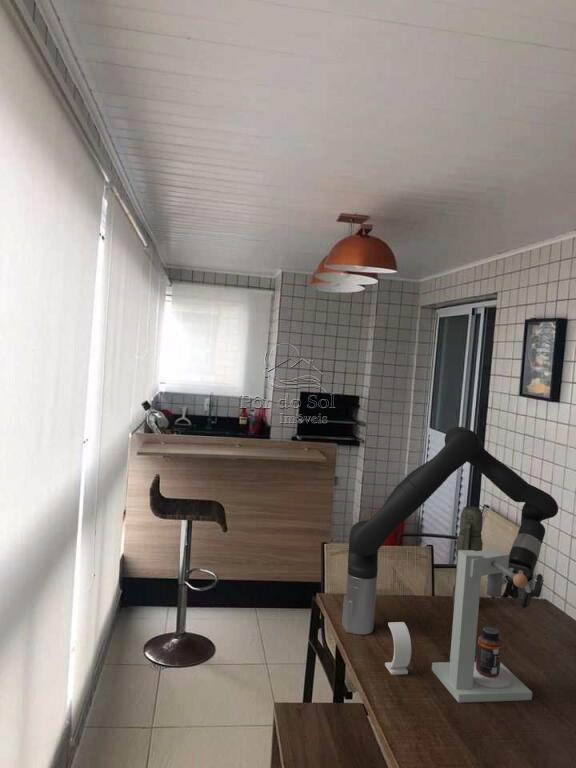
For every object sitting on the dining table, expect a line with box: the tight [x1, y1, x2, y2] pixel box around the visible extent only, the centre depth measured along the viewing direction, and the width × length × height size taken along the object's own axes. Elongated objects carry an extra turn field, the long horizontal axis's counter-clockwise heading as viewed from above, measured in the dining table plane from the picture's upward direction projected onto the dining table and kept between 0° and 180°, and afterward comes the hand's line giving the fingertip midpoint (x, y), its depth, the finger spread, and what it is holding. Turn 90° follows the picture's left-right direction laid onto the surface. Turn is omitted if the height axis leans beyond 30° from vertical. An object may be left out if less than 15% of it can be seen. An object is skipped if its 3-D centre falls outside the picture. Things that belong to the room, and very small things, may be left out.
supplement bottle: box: [475, 627, 503, 677], centre depth 158 cm, size 6×6×11 cm
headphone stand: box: [384, 621, 412, 676], centre depth 162 cm, size 5×6×12 cm
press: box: [431, 548, 533, 704], centre depth 152 cm, size 20×26×36 cm
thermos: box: [451, 505, 484, 606], centre depth 212 cm, size 9×12×35 cm
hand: (507, 602), depth 166 cm, fingers open, 8 cm apart
